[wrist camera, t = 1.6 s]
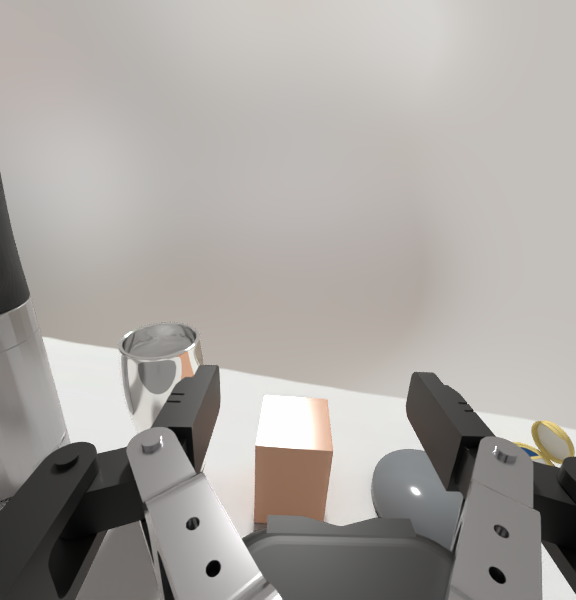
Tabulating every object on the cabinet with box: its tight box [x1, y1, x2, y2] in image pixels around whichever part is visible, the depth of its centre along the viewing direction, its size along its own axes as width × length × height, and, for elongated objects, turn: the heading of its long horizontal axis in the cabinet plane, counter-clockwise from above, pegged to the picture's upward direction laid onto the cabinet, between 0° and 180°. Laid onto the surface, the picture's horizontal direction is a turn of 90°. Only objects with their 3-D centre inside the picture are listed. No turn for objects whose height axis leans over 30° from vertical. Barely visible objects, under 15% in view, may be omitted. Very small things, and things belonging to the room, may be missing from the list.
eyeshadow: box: [512, 421, 575, 466], centre depth 34 cm, size 4×5×5 cm
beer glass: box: [118, 322, 205, 472], centre depth 29 cm, size 7×7×15 cm
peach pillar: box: [254, 395, 333, 524], centre depth 28 cm, size 6×6×9 cm
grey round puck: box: [371, 449, 463, 550], centre depth 29 cm, size 11×11×1 cm
